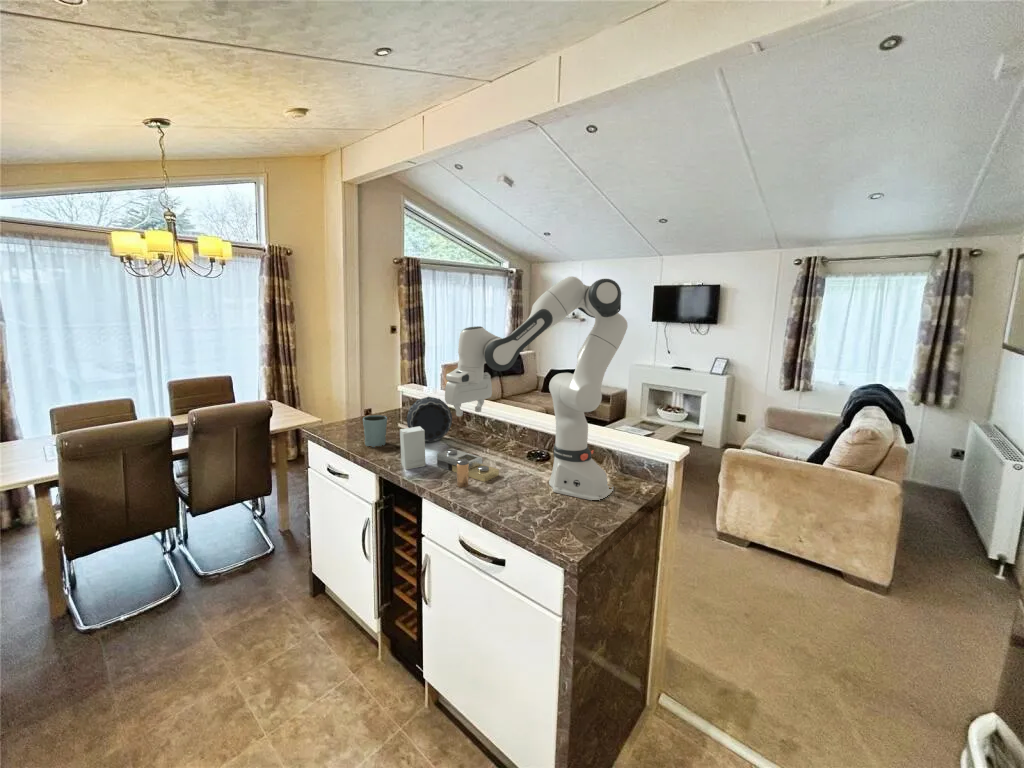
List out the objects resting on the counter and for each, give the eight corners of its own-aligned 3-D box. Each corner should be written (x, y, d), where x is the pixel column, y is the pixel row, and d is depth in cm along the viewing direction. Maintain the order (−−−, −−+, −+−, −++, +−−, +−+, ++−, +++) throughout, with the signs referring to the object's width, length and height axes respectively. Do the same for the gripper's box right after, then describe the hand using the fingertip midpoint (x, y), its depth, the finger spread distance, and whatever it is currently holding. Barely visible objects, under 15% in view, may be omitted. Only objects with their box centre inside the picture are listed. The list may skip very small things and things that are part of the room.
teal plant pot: (358, 445, 191) (357, 418, 189) (374, 439, 200) (373, 413, 198) (377, 449, 187) (376, 421, 185) (392, 442, 197) (391, 416, 194)
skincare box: (421, 461, 174) (420, 425, 171) (426, 467, 168) (425, 429, 166) (400, 465, 169) (399, 428, 167) (404, 470, 164) (403, 432, 162)
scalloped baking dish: (406, 438, 203) (405, 396, 199) (449, 435, 209) (449, 394, 205) (408, 445, 193) (407, 401, 189) (453, 442, 199) (453, 399, 195)
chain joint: (498, 475, 162) (499, 460, 161) (484, 482, 155) (484, 466, 154) (452, 460, 176) (451, 446, 175) (437, 466, 170) (437, 451, 168)
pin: (470, 485, 153) (471, 460, 151) (462, 488, 150) (463, 463, 148) (462, 482, 155) (462, 457, 153) (454, 485, 152) (454, 460, 150)
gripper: (483, 370, 159) (482, 407, 162) (442, 375, 143) (441, 416, 146) (497, 373, 156) (495, 410, 158) (456, 378, 139) (454, 420, 142)
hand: (468, 413), depth 152 cm, fingers open, 8 cm apart
